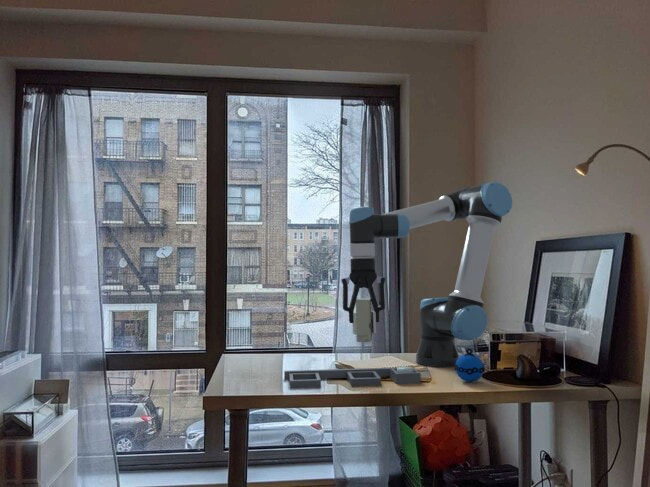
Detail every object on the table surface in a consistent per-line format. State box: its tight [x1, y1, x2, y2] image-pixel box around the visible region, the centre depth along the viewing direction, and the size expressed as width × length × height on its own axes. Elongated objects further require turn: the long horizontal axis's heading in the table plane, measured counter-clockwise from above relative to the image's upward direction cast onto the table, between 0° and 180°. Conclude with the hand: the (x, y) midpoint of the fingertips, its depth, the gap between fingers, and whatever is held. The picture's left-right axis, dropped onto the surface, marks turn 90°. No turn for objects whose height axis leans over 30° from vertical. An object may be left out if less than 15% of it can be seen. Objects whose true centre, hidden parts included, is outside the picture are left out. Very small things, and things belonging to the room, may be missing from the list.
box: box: [355, 298, 373, 343], centre depth 149 cm, size 5×4×13 cm
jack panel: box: [283, 367, 391, 389], centre depth 149 cm, size 38×11×2 cm, turn 96°
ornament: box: [454, 348, 485, 383], centre depth 148 cm, size 9×9×10 cm
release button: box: [396, 365, 413, 373], centre depth 150 cm, size 5×5×2 cm
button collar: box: [389, 366, 422, 385], centre depth 150 cm, size 8×8×3 cm
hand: (364, 333), depth 149 cm, fingers closed on box, 5 cm apart
